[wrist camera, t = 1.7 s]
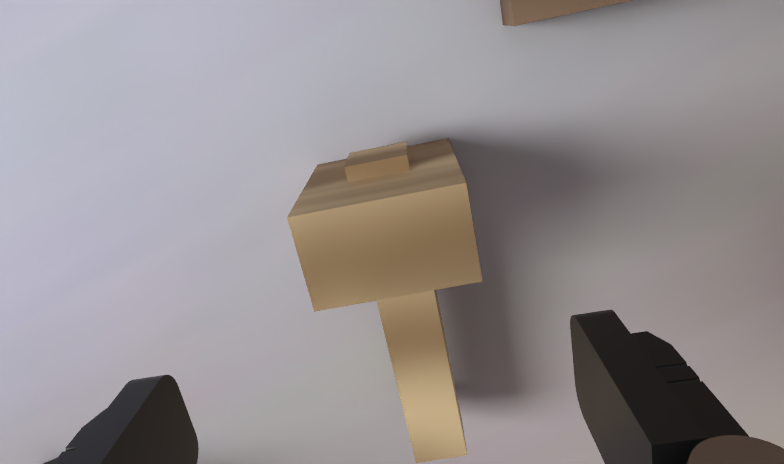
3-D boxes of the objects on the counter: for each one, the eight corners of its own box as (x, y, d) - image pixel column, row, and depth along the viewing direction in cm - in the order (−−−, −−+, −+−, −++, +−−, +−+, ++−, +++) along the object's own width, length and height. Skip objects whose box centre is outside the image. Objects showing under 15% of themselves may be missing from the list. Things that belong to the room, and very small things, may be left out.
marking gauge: (314, 151, 21) (282, 200, 15) (445, 125, 20) (463, 165, 15) (381, 409, 25) (375, 522, 19) (491, 392, 24) (519, 502, 19)
